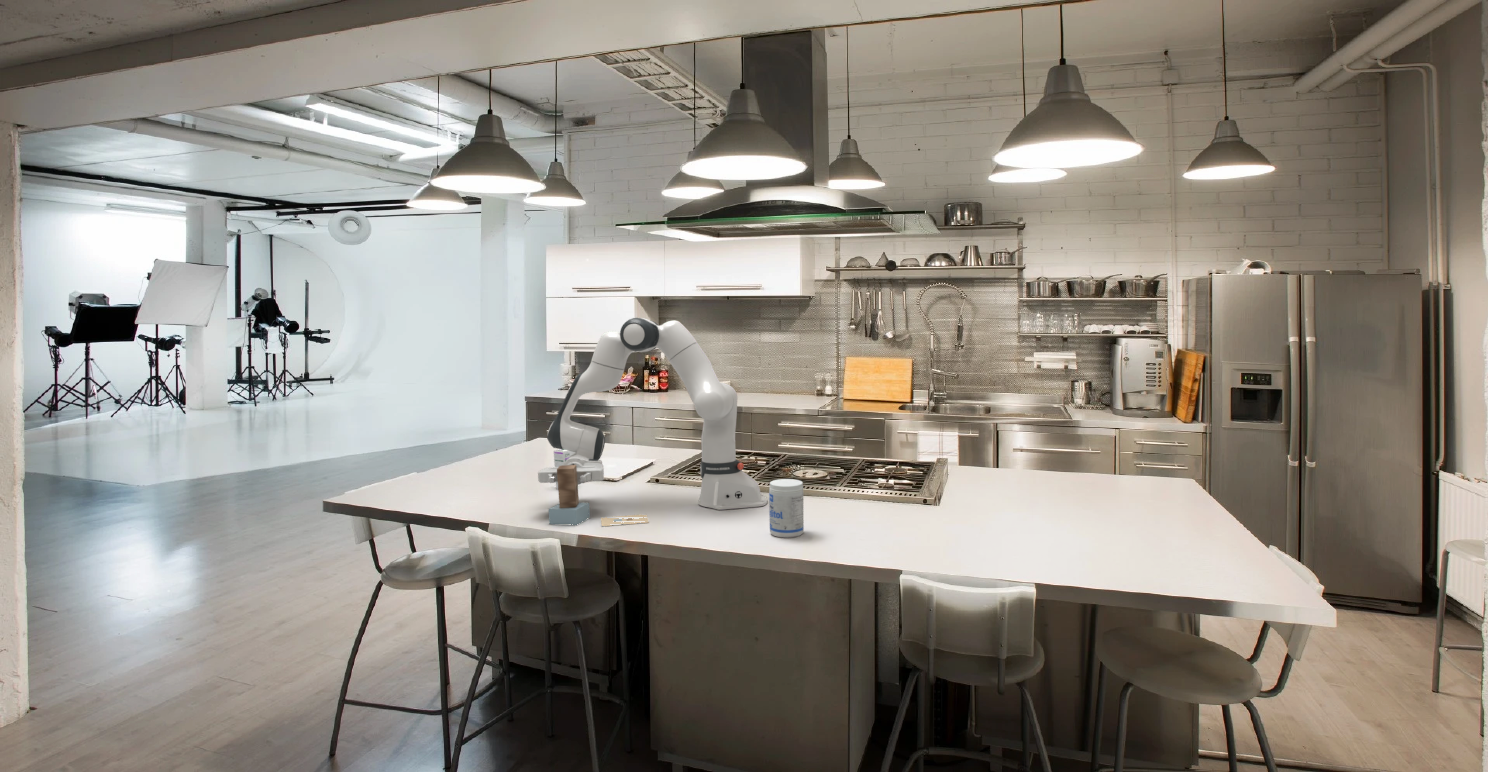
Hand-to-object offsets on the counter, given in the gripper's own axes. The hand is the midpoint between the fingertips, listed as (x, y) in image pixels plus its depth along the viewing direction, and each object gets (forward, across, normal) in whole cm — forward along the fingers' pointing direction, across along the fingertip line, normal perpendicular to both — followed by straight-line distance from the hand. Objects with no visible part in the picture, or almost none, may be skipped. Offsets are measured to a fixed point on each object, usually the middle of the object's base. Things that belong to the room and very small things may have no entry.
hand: (567, 479), depth 242 cm
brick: (-1, 0, +13) cm, 13 cm away
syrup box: (-47, -10, +13) cm, 50 cm away
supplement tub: (+21, +65, +13) cm, 70 cm away
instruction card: (+1, +17, +13) cm, 21 cm away
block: (-1, 0, +8) cm, 8 cm away
